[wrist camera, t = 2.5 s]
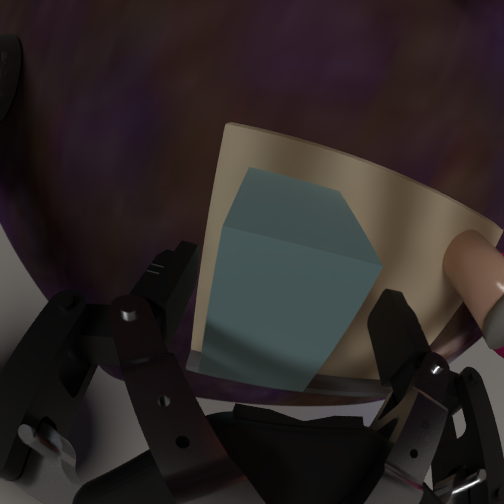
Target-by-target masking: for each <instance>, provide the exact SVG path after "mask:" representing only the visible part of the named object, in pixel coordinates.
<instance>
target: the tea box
mask: <svg viewBox="0 0 504 504" xmlns="http://www.w3.org/2000/svg"><path fill="white" fill-rule="evenodd" d="M382 268H383V265H382V263H381V261H380V259H379V258H378V256H377V254H376V252H375V250H374V248H373V246H372V245H371V243H370V241H369V239H368V238H367V236H366V234H365V232H364V231H363V229H362V227H361V225H360V224H359V222H358V220H357V219H356V217H355V215H354V214H353V212H352V210H351V209H350V207H349V206H348V204H347V202H346V201H345V199H344V198H343V196H342V194H341V193H340V191H337V190H334V189H331V188H327V187H324V186H321V185H317V184H314V183H310V182H307V181H303V180H300V179H296V178H292V177H289V176H285V175H281V174H277V173H273V172H269V171H265V170H261V169H257V168H253V167H249V168H248V170H247V173H246V175H245V177H244V179H243V181H242V183H241V186H240V188H239V190H238V192H237V194H236V197H235V199H234V201H233V203H232V206H231V208H230V210H229V212H228V215H227V217H226V219H225V221H224V224H223V226H222V231H221V236H220V242H219V247H218V253H217V258H216V264H215V269H214V275H213V281H212V287H211V293H210V299H209V305H208V311H207V317H206V324H205V330H204V337H203V343H202V350H201V357H200V364H199V371H198V372H199V373H203V374H207V375H211V376H216V377H220V378H224V379H229V380H234V381H238V382H244V383H249V384H254V385H260V386H266V387H272V388H278V389H285V390H292V391H300V392H303V391H304V389H305V388H306V387H307V385H308V384H309V383H310V381H311V380H312V379H313V377H314V376H315V375H316V373H317V372H318V371H319V369H320V368H321V367H322V365H323V364H324V362H325V361H326V359H327V358H328V357H329V355H330V354H331V352H332V351H333V349H334V348H335V346H336V345H337V343H338V342H339V340H340V339H341V337H342V336H343V334H344V333H345V331H346V330H347V328H348V327H349V325H350V323H351V322H352V320H353V319H354V317H355V315H356V314H357V312H358V310H359V309H360V307H361V305H362V304H363V302H364V300H365V299H366V297H367V295H368V293H369V292H370V290H371V288H372V286H373V285H374V283H375V281H376V279H377V277H378V276H379V274H380V272H381V270H382Z"/></svg>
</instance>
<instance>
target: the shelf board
mask: <svg viewBox="0 0 504 504" xmlns="http://www.w3.org/2000/svg"><path fill="white" fill-rule="evenodd" d="M249 167H253V168H257V169H261V170H265V171H269V172H273V173H277V174H281V175H285V176H289V177H292V178H296V179H300V180H303V181H307V182H310V183H314V184H317V185H321V186H324V187H327V188H331V189H334V190H337V191H340V193H341V194H342V196H343V198H344V199H345V201H346V202H347V204H348V206H349V207H350V209H351V210H352V212H353V214H354V215H355V217H356V219H357V220H358V222H359V224H360V225H361V227H362V229H363V231H364V232H365V234H366V236H367V238H368V239H369V241H370V243H371V245H372V246H373V248H374V250H375V252H376V254H377V256H378V258H379V259H380V261H381V263H382V265H383V268H382V270H381V272H380V274H379V276H378V277H377V279H376V281H375V283H374V285H373V286H372V288H371V290H370V292H369V293H368V295H367V297H366V299H365V300H364V302H363V304H362V305H361V307H360V309H359V310H358V312H357V314H356V315H355V317H354V319H353V320H352V322H351V323H350V325H349V327H348V328H347V330H346V331H345V333H344V334H343V336H342V337H341V339H340V340H339V342H338V343H337V345H336V346H335V348H334V349H333V351H332V352H331V354H330V355H329V357H328V358H327V359H326V361H325V362H324V364H323V365H322V367H321V368H320V369H319V371H318V372H317V373H316V375H315V376H314V377H313V379H312V380H311V381H310V383H309V384H308V385H307V387H306V388H305V389H304V391H303V392H305V393H314V394H324V395H337V396H354V397H387V396H388V394H389V393H390V392H391V391H392V390H393V389H392V387H381V382H380V377H379V373H378V368H377V364H376V360H375V355H374V351H373V347H372V343H371V339H370V335H369V332H368V328H367V321H368V317H369V314H370V312H371V311H372V309H373V307H374V306H375V304H376V302H377V301H378V299H379V297H380V295H381V294H382V292H383V291H384V290H385V289H392V290H396V291H401V292H402V293H403V295H404V297H405V299H406V301H407V303H408V305H409V306H410V307H411V308H412V310H413V311H414V312H415V314H416V316H417V318H418V320H419V322H418V323H420V325H421V327H422V330H423V332H424V334H425V337H426V339H427V341H428V344H429V345H430V344H431V343H432V342H433V341H434V339H435V338H436V337H437V336H438V335H439V333H440V332H441V331H442V329H443V328H444V327H445V326H446V324H447V323H448V322H449V320H450V319H451V318H452V316H453V315H454V313H455V312H456V311H457V309H458V308H459V306H460V305H461V304H462V302H463V300H462V298H461V297H460V295H459V294H458V292H457V291H456V289H455V288H454V286H453V285H452V284H451V282H450V281H449V279H448V278H447V276H446V275H445V274H444V271H443V267H442V262H443V257H444V254H445V251H446V249H447V247H448V246H449V244H450V243H451V241H452V240H453V239H454V238H455V237H456V236H457V235H459V234H460V233H462V232H464V231H466V230H476V231H478V232H479V233H480V234H481V235H482V236H484V237H485V238H486V239H487V240H488V241H489V242H490V243H491V244H492V245H493V246H494V247H496V245H497V243H498V241H499V239H500V237H501V235H502V233H503V230H502V229H501V228H500V227H498V226H497V225H496V224H495V223H494V222H492V221H491V220H489V219H488V218H486V217H484V216H483V215H481V214H479V213H478V212H476V211H474V210H472V209H471V208H469V207H467V206H465V205H463V204H462V203H460V202H458V201H456V200H454V199H452V198H450V197H448V196H447V195H445V194H443V193H441V192H439V191H437V190H435V189H433V188H430V187H428V186H426V185H424V184H422V183H420V182H418V181H415V180H413V179H411V178H409V177H407V176H404V175H402V174H400V173H397V172H395V171H392V170H390V169H388V168H385V167H383V166H380V165H378V164H375V163H372V162H370V161H367V160H365V159H362V158H359V157H356V156H353V155H351V154H348V153H345V152H342V151H339V150H336V149H333V148H330V147H327V146H324V145H320V144H317V143H314V142H310V141H307V140H304V139H300V138H296V137H293V136H289V135H285V134H281V133H277V132H273V131H269V130H265V129H261V128H257V127H252V126H247V125H243V124H238V123H233V122H230V123H228V124H226V125H225V130H224V135H223V139H222V144H221V149H220V154H219V160H218V165H217V170H216V175H215V181H214V186H213V192H212V198H211V204H210V209H209V215H208V222H207V228H206V234H205V241H204V247H203V254H202V261H201V268H200V276H199V283H198V291H197V299H196V308H195V316H194V325H193V335H192V344H191V351H190V354H189V357H188V360H187V364H186V370H190V371H193V372H197V373H199V372H198V371H199V364H200V357H201V350H202V343H203V337H204V330H205V324H206V317H207V311H208V305H209V299H210V293H211V287H212V281H213V275H214V269H215V264H216V258H217V253H218V247H219V242H220V236H221V231H222V226H223V224H224V221H225V219H226V217H227V215H228V212H229V210H230V208H231V206H232V203H233V201H234V199H235V197H236V194H237V192H238V190H239V188H240V186H241V183H242V181H243V179H244V177H245V175H246V173H247V170H248V168H249ZM201 374H203V373H201ZM205 375H207V374H205ZM209 376H211V375H209ZM213 377H216V376H213ZM218 378H220V377H218ZM222 379H224V378H222ZM227 380H229V379H227ZM231 381H234V380H231ZM236 382H238V381H236ZM241 383H244V382H241ZM246 384H249V383H246ZM251 385H254V384H251ZM257 386H260V385H257ZM263 387H266V386H263ZM269 388H272V387H269ZM275 389H278V388H275ZM282 390H285V389H282ZM289 391H292V390H289ZM296 392H300V391H296Z"/></svg>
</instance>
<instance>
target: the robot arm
mask: <svg viewBox="0 0 504 504" xmlns="http://www.w3.org/2000/svg"><path fill="white" fill-rule="evenodd" d="M20 66H21V48H20V43H19V40H18V38H17V37H16V36H15V35H13V34H0V122H1V121H2V120H3V118H4V117H5V115H6V114H7V112H8V110H9V108H10V106H11V103H12V100H13V98H14V95H15V91H16V88H17V84H18V79H19V74H20ZM199 255H200V245H199V244H194V243H190V242H186V241H181V242H180V244H179V245H178V247H177V248H176V250H175V251H170V250H165V251H163V252H162V253H160V254H158V255H157V256H156V257H155V259H154V260H153V261H152V263H151V265H149V267H148V268H147V271H145V272H144V274H143V275H142V277H141V278H140V279H139V281H138V282H137V284H136V285H135V287H134V288H133V289H132V291H131V292H130V294H129V295H122V296H120V297H117V298H116V299H114V300H113V301H112V302H111V303H110V305H95V304H86V301H85V298H84V296H83V295H82V294H81V293H79V292H77V291H74V290H65V291H61V292H59V293H57V294H55V295H54V296H53V297H52V298H51V299H50V301H49V302H48V303H47V305H46V306H45V307H44V308H43V310H42V311H41V312H40V314H39V315H38V317H37V318H36V319H35V321H34V322H33V324H32V325H31V327H30V328H29V329H28V331H27V332H26V334H25V335H24V336H23V338H22V340H21V341H20V343H19V344H18V346H17V347H16V349H15V350H14V352H13V353H12V355H11V357H10V358H9V360H8V361H7V363H6V365H5V366H4V368H3V370H2V372H1V373H0V478H1V479H2V480H4V481H6V482H9V483H11V484H14V485H16V486H18V487H19V488H21V489H22V490H24V491H25V492H27V493H28V494H29V495H31V496H32V497H34V498H36V499H37V500H39V501H40V502H42V503H44V504H504V458H503V452H502V447H501V442H500V437H499V433H498V429H497V425H496V422H495V417H494V414H493V410H492V407H491V404H490V401H489V398H488V394H487V392H486V389H485V386H484V383H483V380H482V378H481V376H480V374H479V373H478V372H477V371H476V370H475V369H474V368H472V367H466V368H465V369H464V370H463V371H462V372H461V373H460V374H458V373H455V372H452V371H450V369H449V365H448V363H447V362H446V360H445V359H444V358H443V357H442V356H441V355H439V354H437V353H435V352H432V351H431V349H430V346H429V344H428V341H427V339H426V337H425V334H424V332H423V330H422V327H421V325H420V323H418V322H419V320H418V318H417V316H416V314H415V312H414V311H413V310H412V308H411V307H410V306H409V305H408V303H407V301H406V299H405V297H404V295H403V293H402V292H401V291H396V290H392V289H385V290H384V291H383V292H382V294H381V295H380V297H379V299H378V301H377V302H376V304H375V306H374V307H373V309H372V311H371V312H370V314H369V317H368V321H367V328H368V332H369V335H370V339H371V343H372V347H373V351H374V355H375V360H376V364H377V368H378V373H379V377H380V382H381V387H392V389H393V390H392V391H391V392H390V393H389V394H388V396H387V398H386V399H385V401H384V403H383V405H382V407H381V408H380V410H379V412H378V414H377V415H376V417H375V419H374V420H373V422H372V424H371V425H370V426H369V427H366V426H364V425H363V417H356V416H331V417H326V418H321V419H315V420H309V421H301V420H298V419H295V418H292V417H289V416H287V415H284V414H281V413H278V412H275V411H273V410H270V409H264V408H258V407H253V406H247V405H242V404H237V403H236V404H235V406H234V409H233V411H232V412H220V413H214V414H210V415H207V416H205V415H204V413H203V411H202V409H201V407H200V405H199V403H198V401H197V400H196V398H195V396H194V394H193V392H192V390H191V388H190V386H189V384H188V382H187V380H186V378H185V376H184V373H183V371H182V369H181V367H180V365H179V363H178V361H177V359H176V357H175V355H174V354H173V353H169V352H168V350H167V349H168V348H169V346H170V344H171V341H172V339H173V336H174V334H175V332H176V329H177V327H178V325H179V322H180V320H181V318H182V315H183V313H184V311H185V309H186V306H187V304H188V302H189V299H190V297H191V295H192V293H193V290H194V288H195V284H196V280H197V273H198V263H199ZM98 364H103V365H115V366H120V367H121V371H122V374H123V378H124V381H125V384H126V387H127V390H128V394H129V396H130V400H131V402H132V405H133V408H134V411H135V414H136V416H137V419H138V422H139V424H140V427H141V429H142V432H143V434H144V437H145V439H146V442H147V444H148V446H149V450H147V451H145V452H144V453H142V454H140V455H138V456H137V457H135V458H133V459H132V460H130V461H128V462H126V463H124V464H122V465H120V466H119V467H117V468H115V469H113V470H111V471H109V472H107V473H105V474H103V475H101V476H99V477H97V478H95V479H93V480H91V481H89V482H87V483H86V484H84V485H81V483H80V482H79V480H78V478H77V476H76V472H75V463H76V455H75V452H74V449H73V447H72V445H71V444H70V443H69V442H68V441H67V437H68V435H69V432H70V429H71V427H72V424H73V422H74V419H75V417H76V414H77V411H78V409H79V407H80V405H81V402H82V400H83V397H84V395H85V393H86V391H87V388H88V386H89V384H90V381H91V379H92V377H93V375H94V373H95V371H96V368H97V366H98ZM461 408H462V410H463V414H464V418H465V422H466V430H465V432H464V434H463V435H462V436H461V437H459V438H458V439H457V436H456V431H455V426H454V422H453V417H452V415H454V414H455V413H456V412H457V411H459V410H460V409H461ZM430 465H431V469H432V482H433V491H432V490H431V489H430V488H429V487H428V486H427V485H426V483H425V482H424V479H425V476H426V474H427V472H428V469H429V467H430Z"/></svg>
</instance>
